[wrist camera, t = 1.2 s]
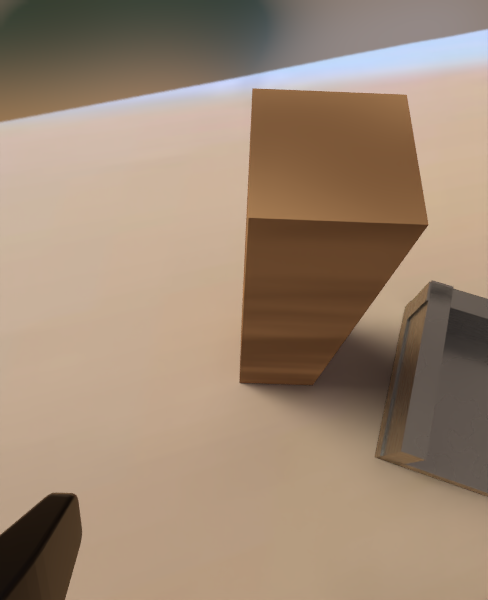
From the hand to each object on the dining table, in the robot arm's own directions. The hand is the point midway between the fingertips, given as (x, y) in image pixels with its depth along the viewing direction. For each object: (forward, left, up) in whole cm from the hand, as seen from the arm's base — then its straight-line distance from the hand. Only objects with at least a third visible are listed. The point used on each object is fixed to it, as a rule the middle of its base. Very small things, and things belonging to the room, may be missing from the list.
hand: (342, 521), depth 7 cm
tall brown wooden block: (+4, -6, -13) cm, 15 cm away
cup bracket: (-5, -10, -13) cm, 17 cm away
